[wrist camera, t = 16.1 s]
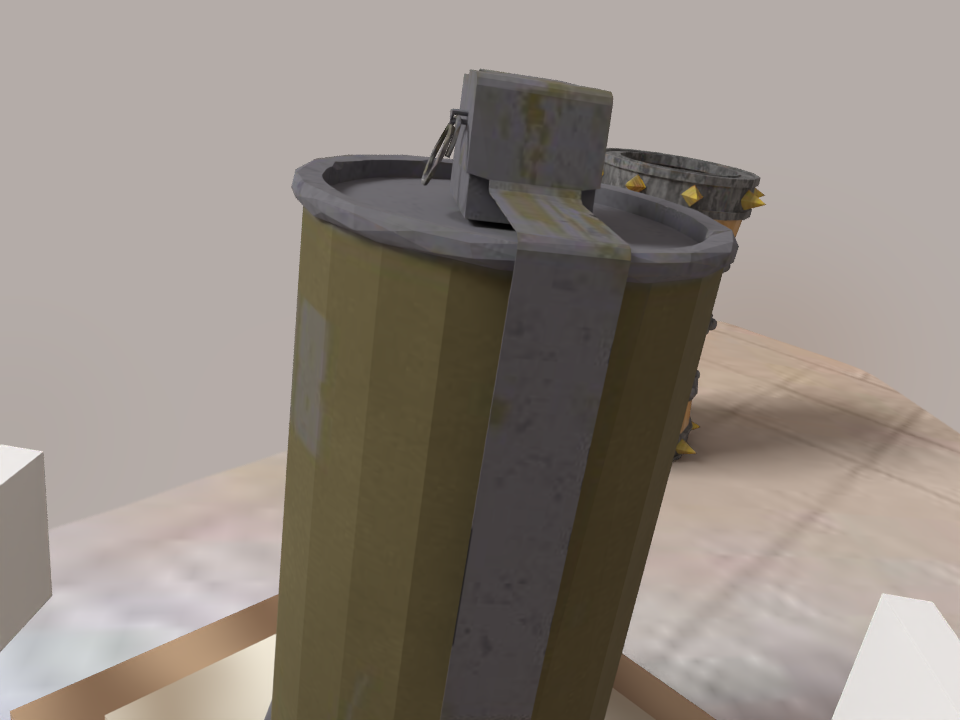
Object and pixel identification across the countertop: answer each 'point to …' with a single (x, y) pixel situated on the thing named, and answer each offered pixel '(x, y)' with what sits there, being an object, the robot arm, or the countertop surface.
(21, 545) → the robot arm
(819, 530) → the countertop surface
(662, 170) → the mug
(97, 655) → the countertop surface
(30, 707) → the oak plinth
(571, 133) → the canister
